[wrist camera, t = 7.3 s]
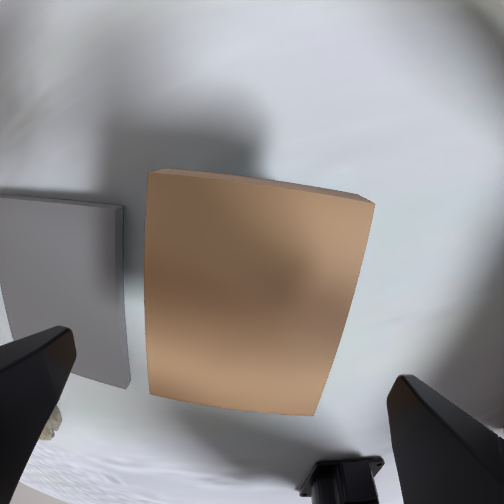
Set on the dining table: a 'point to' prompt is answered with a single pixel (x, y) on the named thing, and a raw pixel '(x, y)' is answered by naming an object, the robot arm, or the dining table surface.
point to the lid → (247, 287)
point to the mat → (67, 278)
